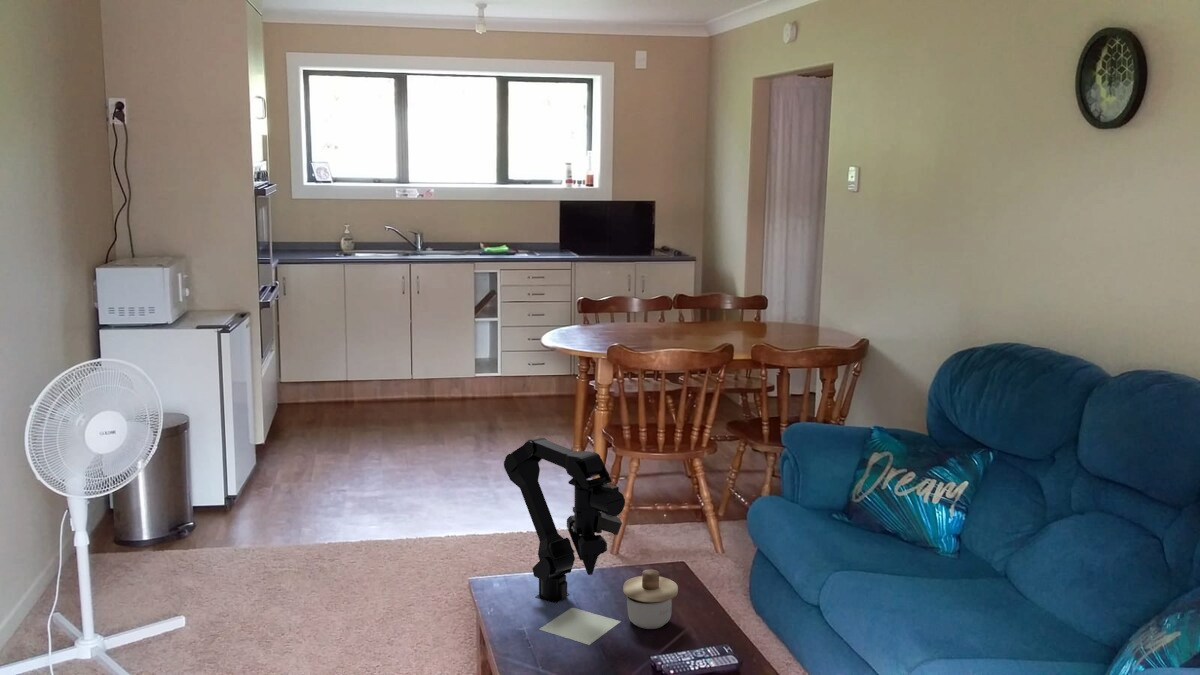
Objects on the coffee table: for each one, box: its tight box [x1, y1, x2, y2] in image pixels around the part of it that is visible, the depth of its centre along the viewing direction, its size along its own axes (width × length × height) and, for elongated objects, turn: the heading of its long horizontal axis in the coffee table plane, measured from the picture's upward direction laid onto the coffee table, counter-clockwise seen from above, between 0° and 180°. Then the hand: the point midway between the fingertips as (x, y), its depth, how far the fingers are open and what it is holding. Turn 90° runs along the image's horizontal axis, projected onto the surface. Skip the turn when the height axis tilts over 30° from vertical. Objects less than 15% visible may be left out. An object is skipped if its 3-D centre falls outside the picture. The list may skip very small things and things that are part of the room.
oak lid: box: [622, 569, 679, 602], centre depth 233 cm, size 13×13×4 cm
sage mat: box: [538, 607, 622, 646], centre depth 231 cm, size 14×14×1 cm
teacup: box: [625, 595, 673, 630], centre depth 234 cm, size 14×11×8 cm
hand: (586, 567), depth 237 cm, fingers open, 9 cm apart
